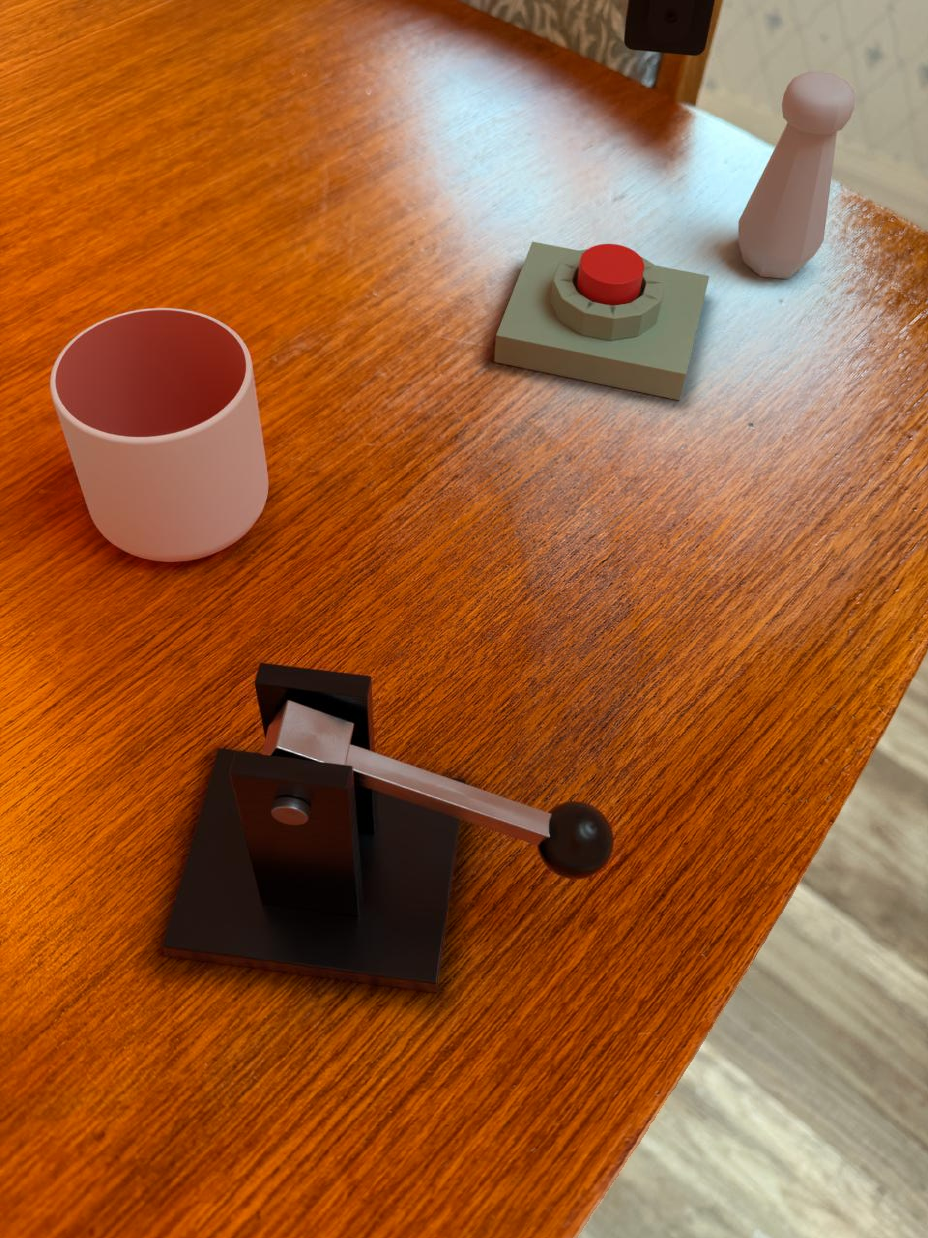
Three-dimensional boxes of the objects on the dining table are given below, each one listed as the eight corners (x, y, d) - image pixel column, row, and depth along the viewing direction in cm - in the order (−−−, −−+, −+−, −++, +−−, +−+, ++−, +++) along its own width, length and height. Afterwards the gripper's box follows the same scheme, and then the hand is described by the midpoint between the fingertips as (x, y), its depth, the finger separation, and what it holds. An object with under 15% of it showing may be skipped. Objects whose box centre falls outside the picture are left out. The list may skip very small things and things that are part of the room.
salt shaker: (722, 275, 82) (767, 96, 72) (738, 227, 86) (783, 50, 75) (807, 294, 82) (864, 116, 71) (820, 246, 85) (877, 68, 74)
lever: (591, 831, 52) (630, 803, 50) (586, 899, 50) (626, 873, 48) (268, 719, 48) (293, 682, 46) (249, 789, 46) (275, 754, 44)
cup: (93, 584, 65) (48, 452, 57) (91, 452, 70) (49, 316, 62) (279, 560, 66) (261, 428, 58) (261, 433, 72) (242, 297, 64)
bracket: (465, 790, 58) (476, 635, 48) (437, 993, 52) (443, 866, 42) (221, 759, 58) (180, 599, 48) (165, 957, 53) (105, 822, 42)
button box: (702, 302, 81) (715, 252, 77) (679, 400, 75) (691, 351, 72) (529, 268, 82) (534, 217, 79) (493, 362, 76) (497, 311, 73)
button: (645, 273, 77) (649, 250, 75) (634, 312, 74) (638, 288, 73) (583, 261, 77) (587, 238, 76) (571, 299, 75) (574, 276, 73)
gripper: (943, -542, 28) (762, 158, 43) (888, -646, 37) (753, -37, 52) (628, -565, 29) (555, 136, 44) (648, -663, 38) (581, -53, 52)
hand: (663, 41), depth 48 cm, fingers closed
